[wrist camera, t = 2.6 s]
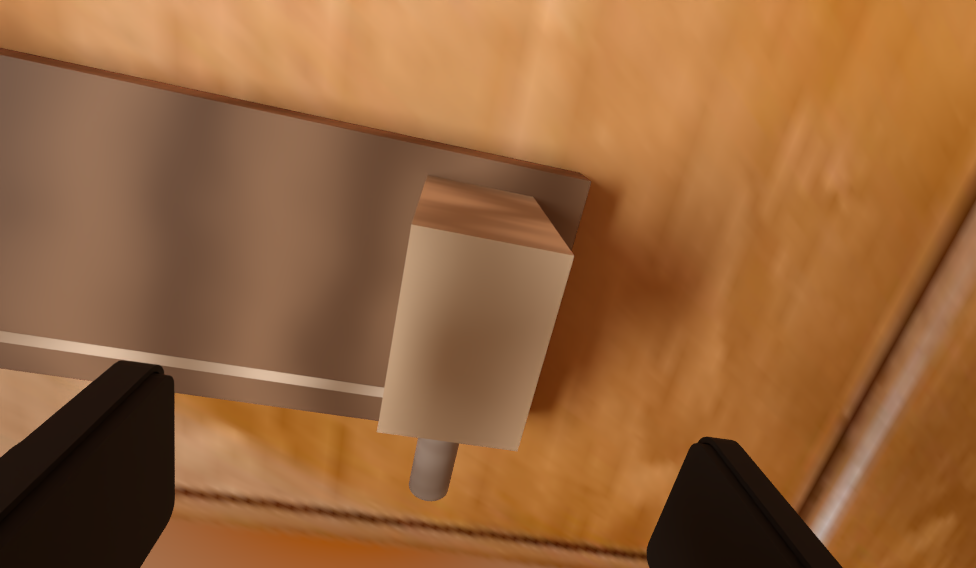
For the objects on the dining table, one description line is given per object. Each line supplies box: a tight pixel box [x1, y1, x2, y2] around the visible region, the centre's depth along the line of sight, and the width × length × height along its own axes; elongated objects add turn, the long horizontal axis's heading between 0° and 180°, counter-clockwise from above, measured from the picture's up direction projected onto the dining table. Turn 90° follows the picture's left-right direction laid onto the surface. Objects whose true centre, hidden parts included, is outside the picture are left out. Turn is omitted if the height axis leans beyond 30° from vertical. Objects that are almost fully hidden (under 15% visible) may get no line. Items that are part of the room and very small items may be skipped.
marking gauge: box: [377, 175, 574, 501], centre depth 17 cm, size 4×10×7 cm, turn 168°
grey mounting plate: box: [0, 48, 591, 421], centre depth 18 cm, size 28×12×5 cm, turn 78°
